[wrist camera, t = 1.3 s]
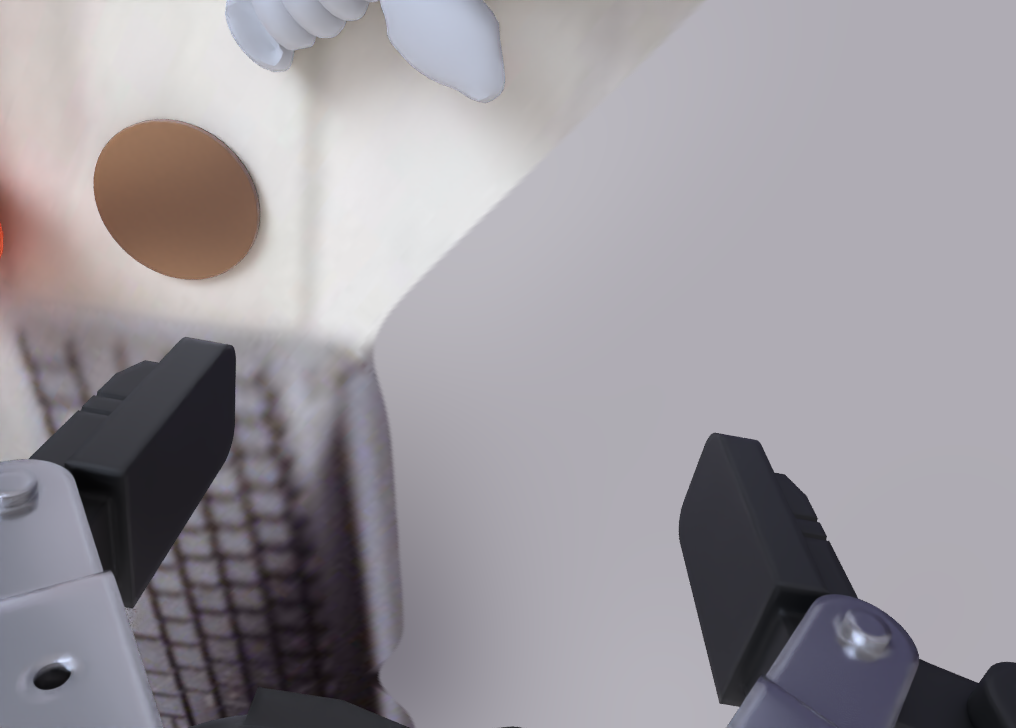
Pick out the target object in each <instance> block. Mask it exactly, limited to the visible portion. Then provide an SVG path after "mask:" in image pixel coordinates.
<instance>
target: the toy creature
mask: <svg viewBox="0 0 1016 728" xmlns="http://www.w3.org/2000/svg"><path fill="white" fill-rule="evenodd" d="M377 1H379V0H227V2H226V12H225V15H226V20H227V24H228V26H229V29H230V31H231V34H232V36H233V37H234V39H235V41H236V42H237V44H238V45H239V47H240V48H241V49H242V50H243V52H244V53H245V54H246V55H247V56H248V57H249V58H250V59H251V60H252V61H253V62H255V63H256V64H257V65H259V66H260V67H262V68H264V69H267V70H270V71H273V72H281V71H286V70H288V69H289V68H290V66H291V64H292V61H293V57H294V51H295V50H298V49H303V48H308V47H312V45H313V44H314V43H315V38H316V37H319V38H332V37H334V36H337V35H338V34H339V33H340V32H341V30H342V29H343V28H344V26H345V24H346V21H354V20H358V19H360V18H362V16H363V15H364V14H365V13H366V10H367V8H368V5H369V2H377ZM380 4H381V8H382V11H383V13H384V16H385V19H386V25H387V36H388V38H389V40H390V42H391V44H392V45H393V46H394V47H395V48H396V50H397V51H398V52H399V53H400V54H401V55H402V56H403V58H404V59H405V60H406V61H407V62H408V63H409V64H410V65H411V66H412V67H414V68H415V69H416V70H417V71H419V72H420V73H422V74H423V75H425V76H427V77H428V78H430V79H432V80H434V81H436V82H438V83H440V84H442V85H445V86H448V87H451V88H453V89H455V90H457V91H459V92H461V93H462V94H464V95H465V96H467V97H468V98H470V99H472V100H475V101H478V102H482V103H487V102H490V101H492V100H494V99H495V98H496V97H498V96H499V95H500V94H501V92H502V91H503V88H504V84H505V73H504V63H503V56H502V49H501V43H500V32H499V22H498V20H497V19H496V17H495V15H494V13H493V12H492V11H491V9H490V8H489V7H488V6H487V4H486V3H485V2H484V1H482V0H380Z"/></svg>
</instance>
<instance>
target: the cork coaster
mask: <svg viewBox="0 0 1016 728" xmlns="http://www.w3.org/2000/svg"><path fill="white" fill-rule="evenodd" d="M94 195H95V200H96V204H97V208H98V211H99V213H100V216H101V218H102V220H103V222H104V224H105V226H106V228H107V230H108V231H109V233H110V234H111V235H112V237H113V238H114V239H115V241H116V242H117V243H118V244H119V245H120V246H121V247H122V248H123V249H124V250H125V251H126V252H127V253H128V254H129V255H130V256H131V257H133V258H134V259H135V260H137V261H138V262H140V263H141V264H143V265H144V266H146V267H148V268H150V269H152V270H154V271H156V272H158V273H161V274H164V275H167V276H171V277H175V278H180V279H205V278H210V277H214V276H217V275H220V274H222V273H225V272H226V271H228V270H230V269H231V268H233V267H234V266H235V265H237V264H238V263H239V262H240V261H241V260H242V259H243V258H244V257H245V255H246V254H247V253H248V252H249V250H250V249H251V247H252V245H253V243H254V241H255V239H256V236H257V233H258V229H259V222H260V206H259V200H258V195H257V192H256V189H255V186H254V183H253V181H252V179H251V176H250V175H249V173H248V171H247V170H246V168H245V166H244V165H243V163H242V162H241V161H240V159H239V158H238V157H237V156H236V155H235V154H234V152H233V151H232V150H231V149H230V148H229V147H228V146H226V145H225V144H224V143H223V142H222V141H221V140H219V139H218V138H216V137H215V136H213V135H212V134H210V133H209V132H207V131H205V130H203V129H201V128H199V127H196V126H194V125H191V124H188V123H185V122H181V121H176V120H169V119H155V120H148V121H143V122H140V123H136V124H134V125H132V126H130V127H127V128H125V129H123V130H122V131H120V132H119V133H118V134H116V135H115V136H114V137H113V138H112V139H111V140H110V141H109V142H108V143H107V144H106V146H105V147H104V148H103V150H102V152H101V154H100V156H99V158H98V161H97V164H96V167H95V173H94Z"/></svg>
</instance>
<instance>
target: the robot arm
mask: <svg viewBox="0 0 1016 728" xmlns="http://www.w3.org/2000/svg"><path fill="white" fill-rule="evenodd" d="M235 378H236V355H235V350H234V347H233V346H232V345H228V344H222V343H217V342H211V341H205V340H200V339H194V338H189V337H184V338H182V339H181V340H180V341H179V342H178V343H177V344H176V345H175V346H174V347H173V348H172V350H171V351H170V352H169V353H168V354H167V355H166V356H165V357H164V358H163V359H162V360H161V361H160V362H159V363H157V362H151V361H146V360H145V361H143V362H140V363H138V364H136V365H134V366H132V367H130V368H127V369H125V370H123V371H121V372H119V373H116V374H115V375H114V376H113V377H112V378H111V379H110V380H109V381H108V382H107V383H106V384H105V385H104V386H103V387H102V388H101V389H100V390H99V391H98V392H97V396H95V395H94V396H93V397H91V398H90V399H89V400H88V401H87V402H86V403H85V404H84V405H83V406H82V410H81V411H77V412H76V413H75V414H74V415H73V416H72V417H71V418H70V419H69V420H68V421H67V422H66V423H65V424H64V425H63V426H62V427H61V428H60V429H59V430H58V431H57V432H56V433H55V434H53V435H52V436H51V437H50V438H49V439H48V440H47V441H46V442H45V443H44V444H43V445H42V446H41V447H40V448H39V449H38V450H37V451H36V452H35V453H34V454H33V455H32V456H31V457H30V458H29V459H21V460H10V461H3V462H0V728H164V727H163V724H162V721H161V718H160V715H159V712H158V709H157V705H156V702H155V699H154V696H153V693H152V690H151V687H150V684H149V681H148V678H147V675H146V672H145V669H144V666H143V663H142V660H141V656H140V653H139V650H138V647H137V644H136V641H135V638H134V635H133V632H132V629H131V626H130V623H129V620H128V617H127V614H126V610H125V607H127V608H134V606H135V604H136V603H137V601H138V600H139V598H140V596H141V595H142V593H143V592H144V590H145V588H146V587H147V585H148V584H149V582H150V580H151V579H152V577H153V576H154V574H155V572H156V571H157V569H158V568H159V566H160V565H161V563H162V561H163V560H164V558H165V557H166V555H167V553H168V552H169V550H170V549H171V547H172V545H173V544H174V542H175V541H176V539H177V537H178V536H179V534H180V533H181V531H182V529H183V528H184V526H185V525H186V523H187V521H188V520H189V518H190V517H191V515H192V513H193V512H194V510H195V509H196V507H197V506H198V504H199V502H200V501H201V499H202V498H203V496H204V494H205V493H206V491H207V490H208V488H209V486H210V485H211V483H212V482H213V480H214V478H215V477H216V475H217V474H218V472H219V470H220V469H221V467H222V466H223V464H224V462H225V461H226V458H227V456H228V454H229V451H230V448H231V444H232V440H233V435H234V427H235ZM826 537H827V536H826V534H825V532H824V530H823V528H822V526H821V524H820V523H819V522H817V516H816V514H815V512H814V510H813V508H812V506H811V504H810V502H809V500H808V498H807V496H806V495H805V494H804V493H803V492H802V491H801V490H800V489H799V488H798V487H797V486H796V485H795V484H794V483H793V482H792V481H791V480H790V479H789V478H788V477H787V476H786V475H784V474H779V473H774V471H773V469H772V467H771V465H770V463H769V460H768V458H767V456H766V454H765V452H764V450H763V447H762V445H761V444H760V442H759V441H757V440H753V439H747V438H741V437H736V436H730V435H724V434H719V433H713V434H711V435H710V437H709V438H708V440H707V441H706V444H705V446H704V449H703V452H702V454H701V457H700V459H699V462H698V465H697V467H696V470H695V473H694V475H693V478H692V481H691V484H690V486H689V489H688V491H687V494H686V497H685V499H684V502H683V505H682V509H681V514H680V520H679V540H680V544H681V548H682V552H683V557H684V561H685V565H686V569H687V573H688V577H689V581H690V585H691V589H692V593H693V597H694V601H695V605H696V609H697V613H698V618H699V622H700V625H701V630H702V634H703V638H704V642H705V646H706V650H707V654H708V658H709V662H710V666H711V670H712V674H713V678H714V683H715V686H716V691H717V694H718V698H719V703H720V704H727V705H733V706H739V709H738V710H737V712H736V713H735V715H734V716H733V718H732V719H731V721H730V723H729V724H728V726H727V727H726V728H1016V663H1014V662H1001V663H996V664H995V665H993V666H991V667H990V669H989V670H988V671H987V673H986V674H985V675H984V677H983V678H982V679H981V681H980V682H979V683H977V682H974V681H972V680H969V679H967V678H964V677H962V676H959V675H956V674H954V673H952V672H949V671H947V670H945V669H942V668H939V667H937V666H935V665H932V664H930V663H927V662H925V661H923V660H921V659H919V654H918V651H917V648H916V646H915V644H914V642H913V640H912V639H911V638H910V636H909V635H908V633H907V632H906V631H905V630H904V629H903V627H902V626H901V625H900V624H899V623H897V622H896V621H895V620H894V619H893V618H892V617H890V616H889V615H888V614H886V613H885V612H883V611H882V610H880V609H879V608H877V607H875V606H873V605H872V604H870V603H867V602H865V601H863V600H860V599H858V598H857V595H856V593H855V591H854V590H853V588H852V585H851V583H850V582H849V580H848V577H847V576H846V574H845V572H844V570H843V568H842V566H841V564H840V562H839V560H838V558H837V556H836V554H835V552H834V550H833V548H832V546H831V544H830V542H829V541H826ZM189 728H409V727H406V726H404V725H402V724H399V723H397V722H394V721H392V720H389V719H387V718H385V717H382V716H380V715H377V714H375V713H372V712H370V711H367V710H365V709H363V708H360V707H358V706H355V705H353V704H350V703H348V702H346V701H343V700H338V699H332V698H325V697H319V696H312V695H306V694H299V693H293V692H286V691H280V690H273V689H267V688H260V687H258V689H257V691H256V694H255V696H254V699H253V702H252V704H251V707H250V709H249V712H248V715H240V716H231V717H226V718H221V719H216V720H211V721H208V722H205V723H201V724H198V725H195V726H192V727H189ZM503 728H520V727H503Z"/></svg>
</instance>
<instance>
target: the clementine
mask: <svg viewBox="0 0 1016 728" xmlns="http://www.w3.org/2000/svg"><path fill="white" fill-rule="evenodd" d="M2 252H3V231H2V227H1V223H0V258H1V255H2Z"/></svg>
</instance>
